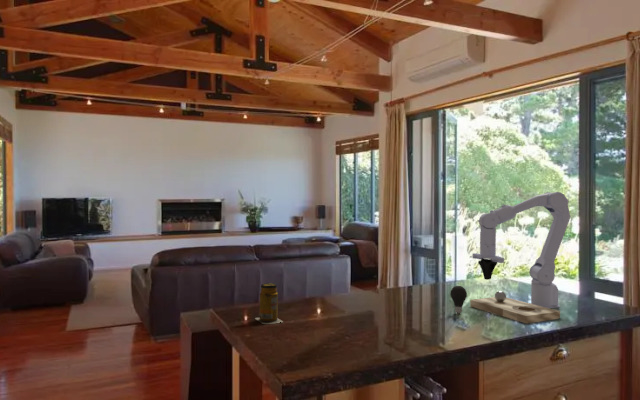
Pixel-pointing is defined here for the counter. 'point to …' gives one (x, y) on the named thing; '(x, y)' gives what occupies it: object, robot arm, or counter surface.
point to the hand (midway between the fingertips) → (487, 279)
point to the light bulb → (458, 297)
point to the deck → (516, 310)
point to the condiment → (268, 304)
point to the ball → (500, 296)
